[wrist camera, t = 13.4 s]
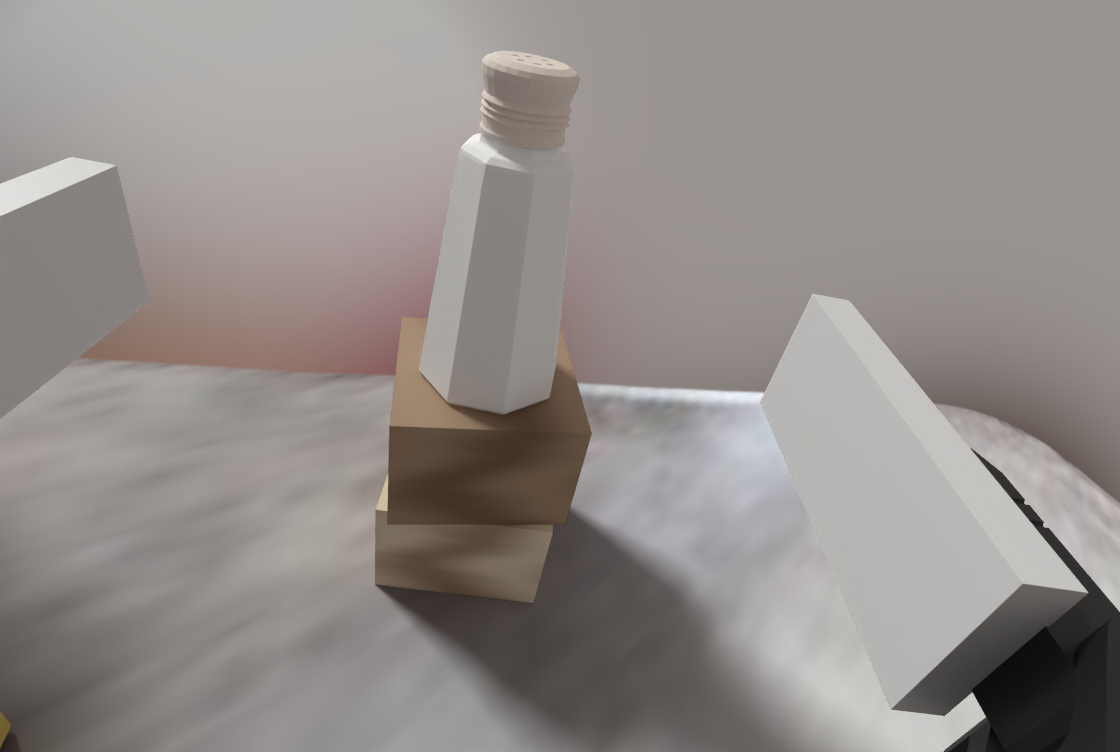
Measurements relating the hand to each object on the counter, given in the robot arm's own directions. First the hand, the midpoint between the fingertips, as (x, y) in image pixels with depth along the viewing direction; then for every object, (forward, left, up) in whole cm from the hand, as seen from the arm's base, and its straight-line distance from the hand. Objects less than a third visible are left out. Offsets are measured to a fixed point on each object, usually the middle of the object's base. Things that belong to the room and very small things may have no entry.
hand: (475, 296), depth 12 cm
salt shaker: (0, +8, -8) cm, 12 cm away
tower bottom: (0, +9, -18) cm, 20 cm away
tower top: (0, +9, -13) cm, 15 cm away
